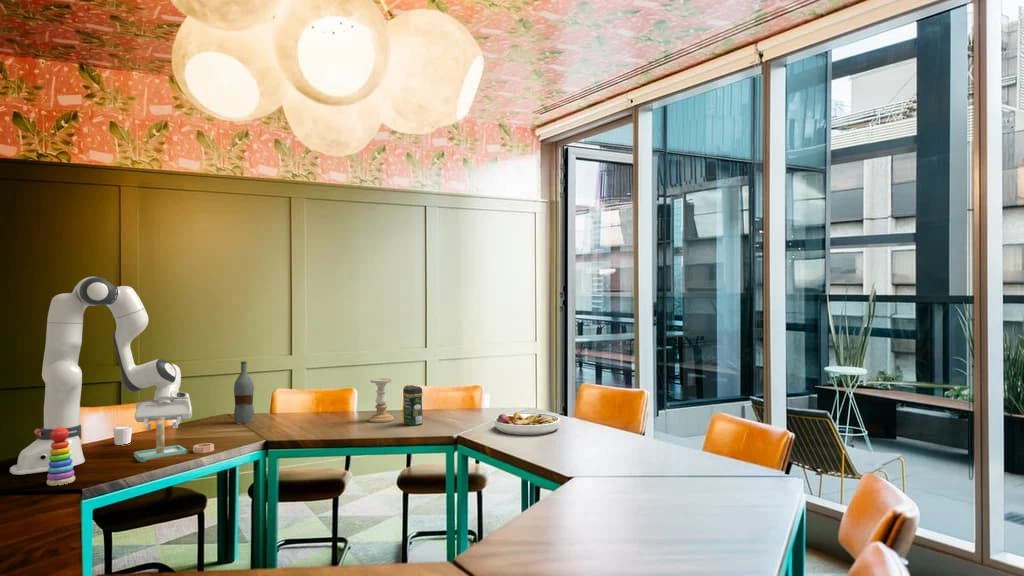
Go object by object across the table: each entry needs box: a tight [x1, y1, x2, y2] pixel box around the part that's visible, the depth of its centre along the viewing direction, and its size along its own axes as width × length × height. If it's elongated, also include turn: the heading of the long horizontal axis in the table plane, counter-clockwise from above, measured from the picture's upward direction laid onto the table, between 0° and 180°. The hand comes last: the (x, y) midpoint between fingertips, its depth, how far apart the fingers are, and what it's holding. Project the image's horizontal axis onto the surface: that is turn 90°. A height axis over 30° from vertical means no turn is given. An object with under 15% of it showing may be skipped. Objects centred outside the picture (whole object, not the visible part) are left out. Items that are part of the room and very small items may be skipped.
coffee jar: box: [402, 384, 424, 427], centre depth 307 cm, size 10×8×19 cm
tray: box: [133, 444, 188, 463], centre depth 249 cm, size 16×11×2 cm
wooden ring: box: [192, 442, 215, 454], centre depth 254 cm, size 7×7×3 cm
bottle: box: [233, 361, 255, 424], centre depth 315 cm, size 9×9×30 cm
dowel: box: [155, 417, 166, 454], centre depth 249 cm, size 3×3×14 cm
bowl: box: [493, 412, 561, 436], centre depth 293 cm, size 30×30×8 cm
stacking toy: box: [46, 427, 76, 487], centre depth 215 cm, size 8×8×19 cm
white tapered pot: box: [112, 425, 133, 446], centre depth 271 cm, size 7×7×7 cm
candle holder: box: [368, 378, 395, 424], centre depth 317 cm, size 12×12×20 cm
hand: (161, 428), depth 252 cm, fingers open, 8 cm apart
